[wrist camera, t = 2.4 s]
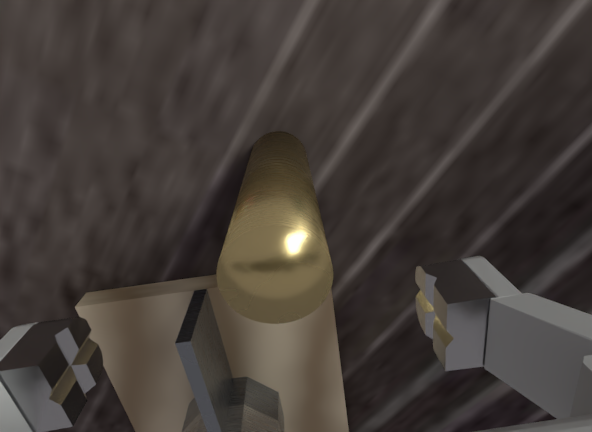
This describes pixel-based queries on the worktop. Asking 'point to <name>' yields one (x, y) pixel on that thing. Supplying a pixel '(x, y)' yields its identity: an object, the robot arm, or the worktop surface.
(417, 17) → the worktop surface
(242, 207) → the pin
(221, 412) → the grey metal ringed bar
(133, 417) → the birch board
